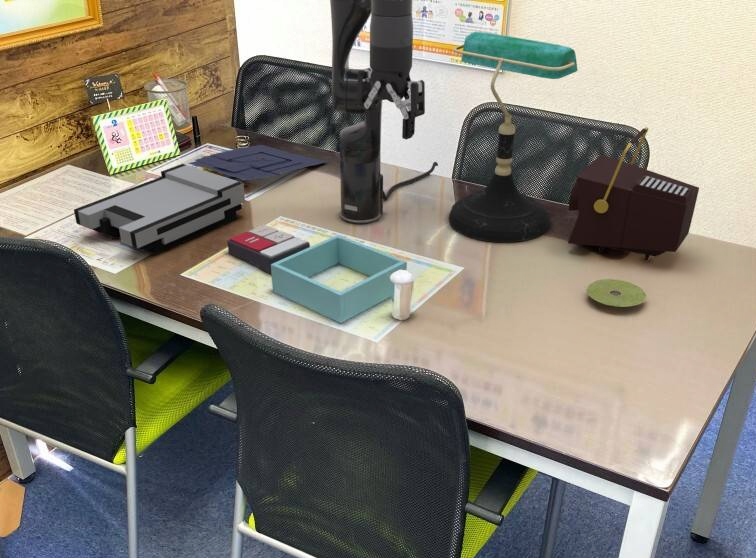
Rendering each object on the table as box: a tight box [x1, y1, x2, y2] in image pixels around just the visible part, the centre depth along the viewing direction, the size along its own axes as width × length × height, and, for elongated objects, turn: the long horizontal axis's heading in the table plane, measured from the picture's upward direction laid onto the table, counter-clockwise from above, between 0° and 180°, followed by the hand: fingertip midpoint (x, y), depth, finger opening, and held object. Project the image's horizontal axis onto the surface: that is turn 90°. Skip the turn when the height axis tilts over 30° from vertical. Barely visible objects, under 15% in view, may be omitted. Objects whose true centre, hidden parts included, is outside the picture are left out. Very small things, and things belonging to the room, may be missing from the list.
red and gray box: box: [226, 224, 311, 275], centre depth 185 cm, size 11×4×15 cm
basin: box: [270, 234, 408, 324], centre depth 172 cm, size 19×19×6 cm
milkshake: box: [386, 269, 415, 321], centre depth 162 cm, size 4×5×10 cm
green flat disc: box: [586, 278, 647, 308], centre depth 169 cm, size 11×11×2 cm
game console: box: [73, 163, 246, 256], centre depth 197 cm, size 21×32×8 cm, turn 141°
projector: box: [567, 126, 700, 262], centre depth 181 cm, size 16×23×25 cm
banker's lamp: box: [448, 31, 578, 243], centre depth 189 cm, size 26×23×40 cm
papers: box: [187, 144, 327, 181], centre depth 228 cm, size 24×30×4 cm
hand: (389, 133), depth 160 cm, fingers open, 8 cm apart
